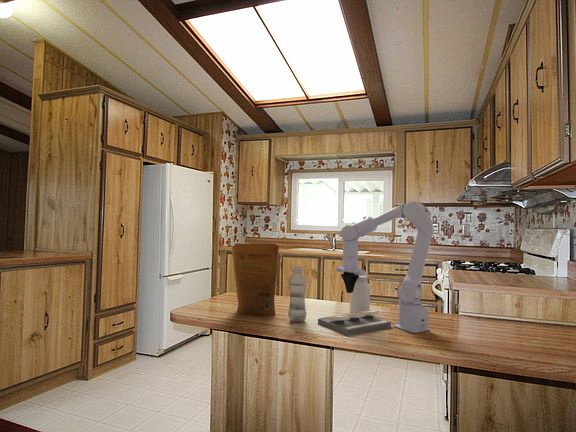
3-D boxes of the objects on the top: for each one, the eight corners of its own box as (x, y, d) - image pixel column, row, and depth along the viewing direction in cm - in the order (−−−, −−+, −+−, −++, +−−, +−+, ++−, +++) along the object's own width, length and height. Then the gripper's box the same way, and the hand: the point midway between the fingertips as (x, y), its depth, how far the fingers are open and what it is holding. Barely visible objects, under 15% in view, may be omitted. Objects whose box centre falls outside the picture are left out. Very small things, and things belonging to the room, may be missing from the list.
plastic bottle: (304, 324, 132) (305, 268, 132) (286, 323, 133) (287, 267, 134) (307, 320, 138) (308, 266, 139) (289, 318, 140) (290, 265, 140)
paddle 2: (379, 314, 134) (378, 310, 134) (371, 315, 132) (371, 311, 132) (365, 314, 139) (365, 310, 140) (358, 315, 138) (357, 311, 138)
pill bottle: (371, 315, 147) (372, 277, 147) (351, 315, 147) (351, 277, 147) (367, 310, 155) (368, 274, 155) (348, 310, 155) (348, 274, 155)
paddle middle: (364, 316, 130) (364, 312, 130) (357, 317, 128) (356, 313, 128) (351, 317, 136) (351, 313, 136) (344, 318, 134) (343, 314, 134)
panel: (390, 327, 131) (390, 319, 131) (347, 335, 120) (347, 327, 120) (359, 317, 144) (359, 310, 144) (317, 323, 133) (318, 316, 133)
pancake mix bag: (275, 317, 141) (276, 244, 141) (229, 313, 146) (230, 242, 147) (280, 313, 147) (281, 243, 148) (236, 309, 153) (237, 241, 153)
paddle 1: (349, 319, 126) (349, 315, 127) (341, 320, 124) (341, 316, 125) (336, 319, 132) (336, 315, 132) (328, 320, 130) (328, 316, 130)
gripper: (330, 255, 146) (329, 290, 146) (355, 259, 134) (355, 296, 133) (343, 255, 150) (343, 288, 149) (369, 258, 137) (369, 295, 137)
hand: (349, 292), depth 142 cm, fingers closed
